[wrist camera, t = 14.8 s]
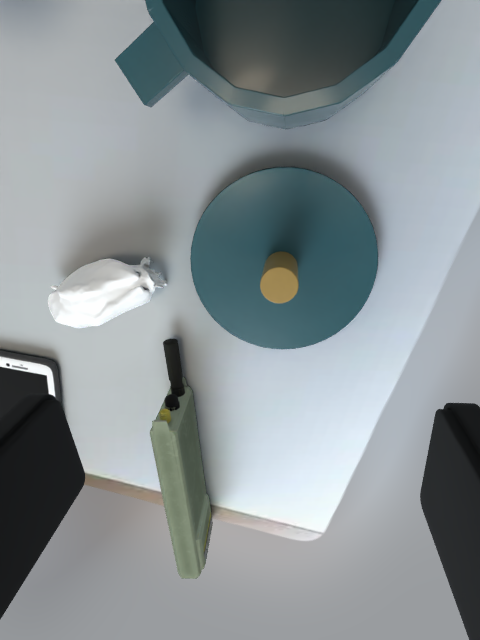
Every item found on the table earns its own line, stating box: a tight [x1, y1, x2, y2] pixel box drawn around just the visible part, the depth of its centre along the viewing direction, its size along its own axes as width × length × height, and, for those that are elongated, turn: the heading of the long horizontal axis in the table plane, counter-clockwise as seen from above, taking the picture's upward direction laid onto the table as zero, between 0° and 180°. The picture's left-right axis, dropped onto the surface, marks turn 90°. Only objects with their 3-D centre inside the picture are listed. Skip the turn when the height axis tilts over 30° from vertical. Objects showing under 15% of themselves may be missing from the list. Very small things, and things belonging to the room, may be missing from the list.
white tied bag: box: [48, 257, 167, 328], centre depth 30 cm, size 5×7×10 cm
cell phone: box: [0, 350, 61, 419], centre depth 39 cm, size 8×15×1 cm, turn 173°
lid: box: [191, 167, 378, 349], centre depth 27 cm, size 15×15×6 cm
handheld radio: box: [150, 339, 212, 579], centre depth 36 cm, size 7×3×25 cm
